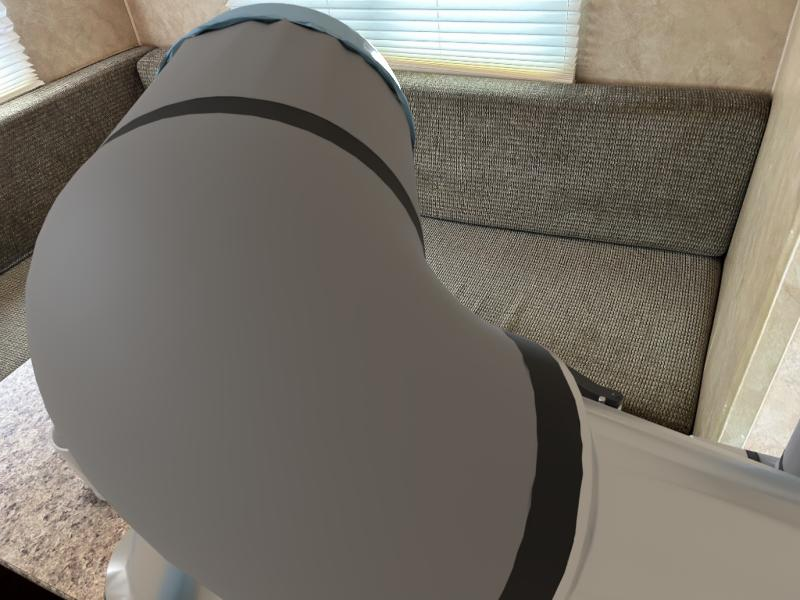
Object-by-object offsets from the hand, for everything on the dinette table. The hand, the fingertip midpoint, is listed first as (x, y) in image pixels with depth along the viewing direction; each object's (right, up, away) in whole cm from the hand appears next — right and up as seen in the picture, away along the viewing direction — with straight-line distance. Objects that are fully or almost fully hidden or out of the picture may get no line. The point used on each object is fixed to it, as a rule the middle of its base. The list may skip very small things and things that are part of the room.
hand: (422, 409), depth 55 cm
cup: (-40, -15, +27) cm, 51 cm away
